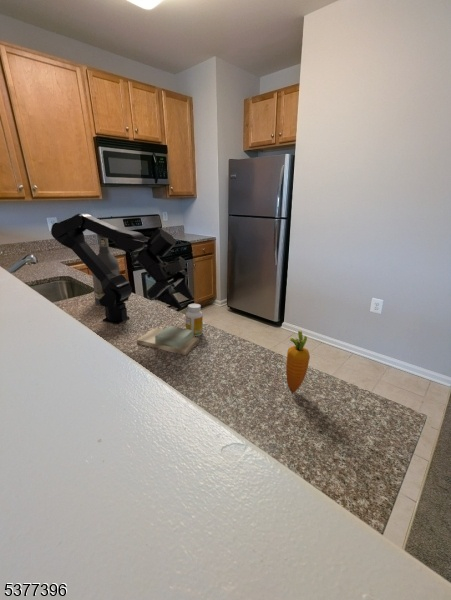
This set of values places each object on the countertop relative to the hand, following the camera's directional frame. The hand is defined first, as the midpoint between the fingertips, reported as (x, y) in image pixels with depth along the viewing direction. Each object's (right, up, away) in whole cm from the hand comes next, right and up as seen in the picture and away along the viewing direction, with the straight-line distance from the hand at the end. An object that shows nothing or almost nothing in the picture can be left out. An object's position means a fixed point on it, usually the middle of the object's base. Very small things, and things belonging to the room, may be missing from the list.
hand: (186, 303), depth 87 cm
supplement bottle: (+2, -10, +3) cm, 10 cm away
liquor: (-36, 0, +26) cm, 44 cm away
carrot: (+28, -20, -23) cm, 42 cm away
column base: (-5, -12, -4) cm, 13 cm away
